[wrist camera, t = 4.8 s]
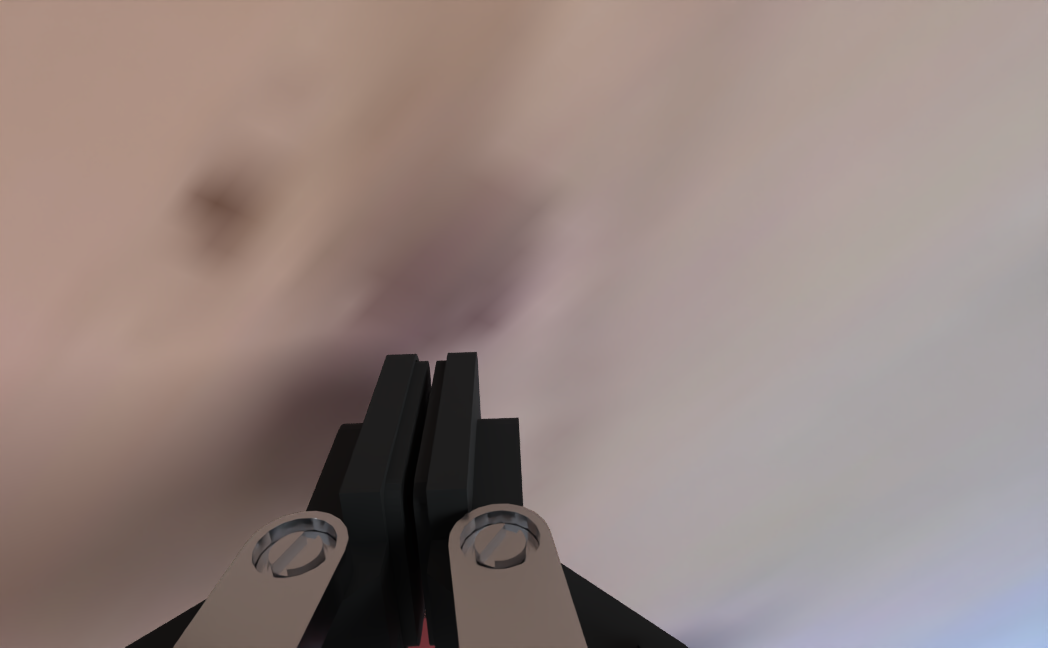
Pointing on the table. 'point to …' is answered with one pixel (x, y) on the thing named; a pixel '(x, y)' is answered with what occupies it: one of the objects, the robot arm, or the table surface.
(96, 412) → the table surface
